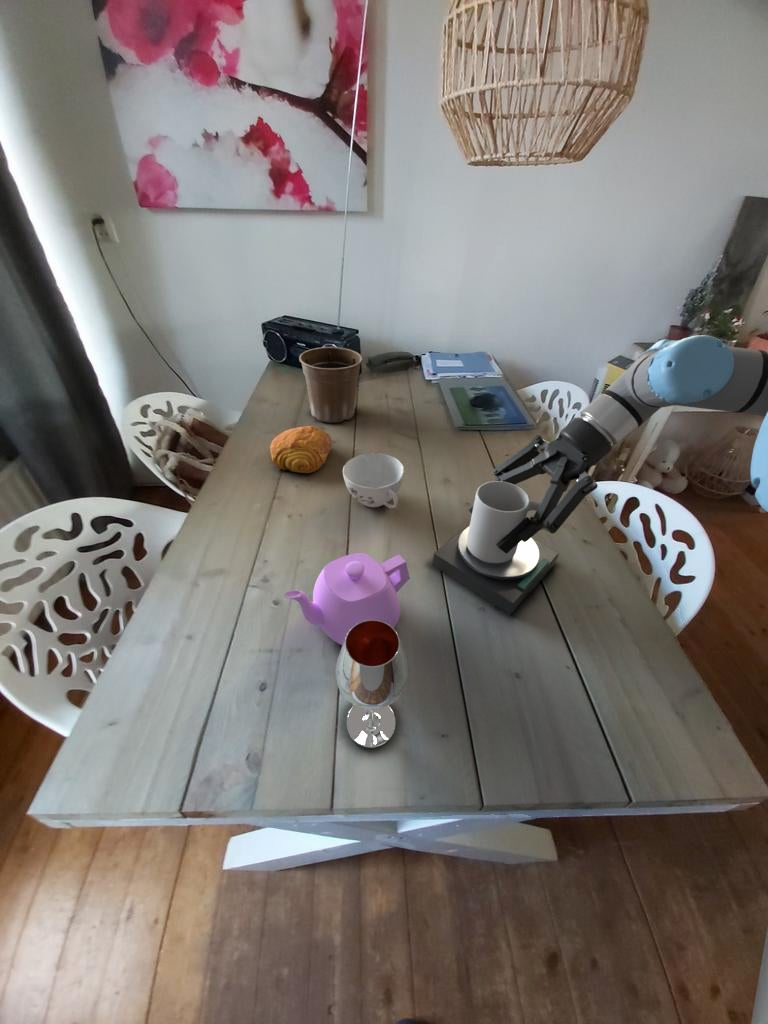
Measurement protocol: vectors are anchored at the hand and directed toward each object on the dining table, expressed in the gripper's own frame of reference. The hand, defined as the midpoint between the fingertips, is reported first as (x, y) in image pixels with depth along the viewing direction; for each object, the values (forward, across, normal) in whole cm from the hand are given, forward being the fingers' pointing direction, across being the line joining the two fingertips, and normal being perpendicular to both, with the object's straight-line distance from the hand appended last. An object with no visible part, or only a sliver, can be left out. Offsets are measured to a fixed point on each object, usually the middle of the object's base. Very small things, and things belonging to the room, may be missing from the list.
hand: (486, 531), depth 73 cm
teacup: (+15, +24, +1) cm, 28 cm away
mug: (+1, 0, -5) cm, 5 cm away
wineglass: (+26, -20, +12) cm, 35 cm away
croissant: (+23, +46, +9) cm, 52 cm away
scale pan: (+2, 0, -6) cm, 6 cm away
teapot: (+24, -3, +11) cm, 26 cm away
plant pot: (+13, +67, 0) cm, 68 cm away
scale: (+4, 0, -9) cm, 10 cm away
